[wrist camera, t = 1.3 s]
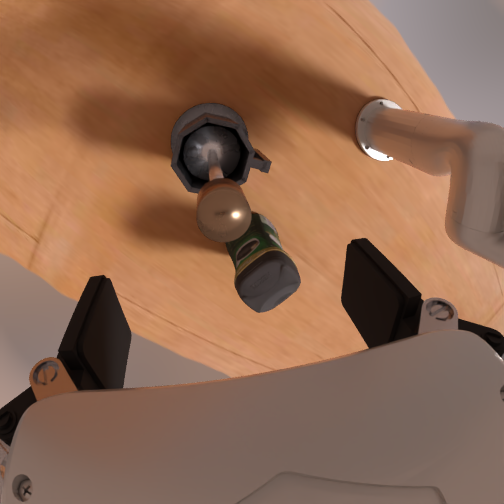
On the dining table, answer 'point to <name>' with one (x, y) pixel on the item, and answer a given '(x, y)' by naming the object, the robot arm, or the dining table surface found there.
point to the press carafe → (216, 117)
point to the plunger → (217, 183)
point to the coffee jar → (262, 266)
